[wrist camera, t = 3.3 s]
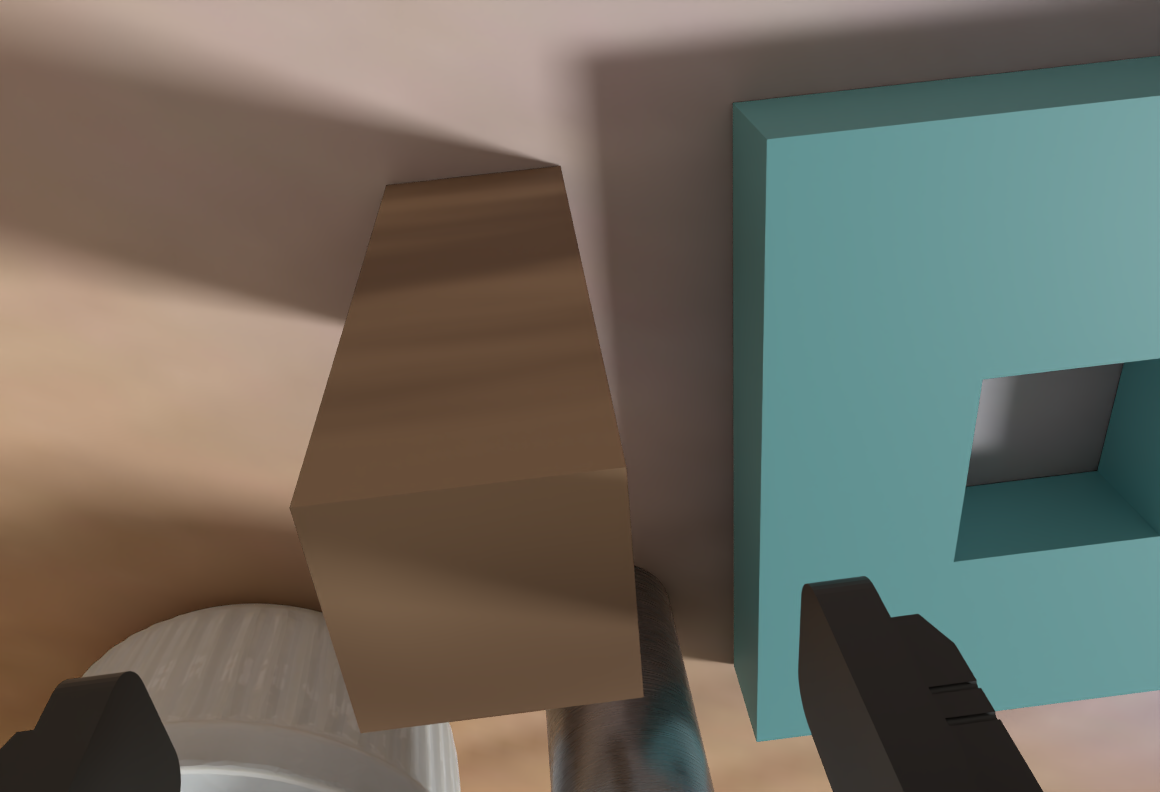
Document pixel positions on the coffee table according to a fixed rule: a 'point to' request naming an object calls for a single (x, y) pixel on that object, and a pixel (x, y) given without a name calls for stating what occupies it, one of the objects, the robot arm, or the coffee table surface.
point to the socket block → (947, 372)
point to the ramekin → (271, 707)
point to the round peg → (635, 720)
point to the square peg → (471, 467)
